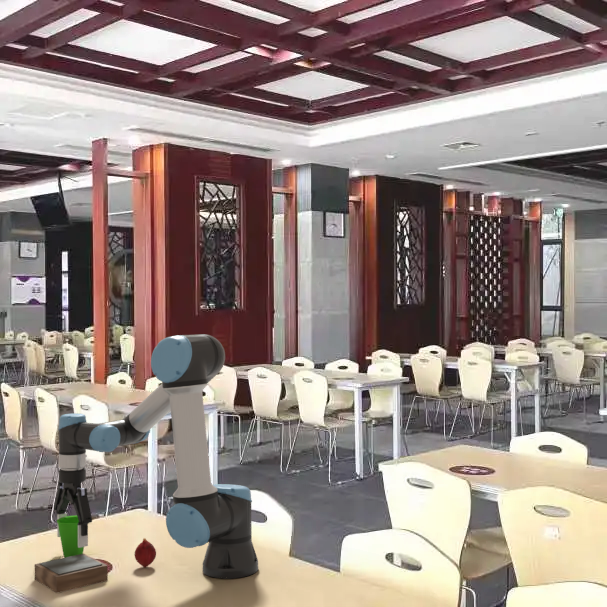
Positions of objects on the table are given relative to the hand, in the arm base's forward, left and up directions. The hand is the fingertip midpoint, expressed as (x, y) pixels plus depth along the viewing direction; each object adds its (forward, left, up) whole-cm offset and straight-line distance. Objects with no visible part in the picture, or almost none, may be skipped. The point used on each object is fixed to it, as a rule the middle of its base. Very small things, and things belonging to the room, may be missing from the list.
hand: (72, 541), depth 238 cm
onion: (-22, -11, -5) cm, 25 cm away
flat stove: (-18, +9, -5) cm, 21 cm away
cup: (0, 0, -5) cm, 5 cm away
